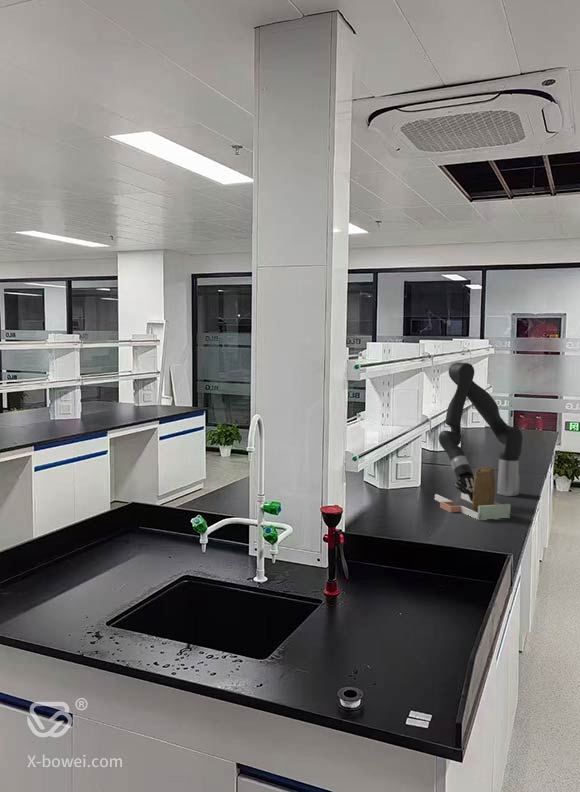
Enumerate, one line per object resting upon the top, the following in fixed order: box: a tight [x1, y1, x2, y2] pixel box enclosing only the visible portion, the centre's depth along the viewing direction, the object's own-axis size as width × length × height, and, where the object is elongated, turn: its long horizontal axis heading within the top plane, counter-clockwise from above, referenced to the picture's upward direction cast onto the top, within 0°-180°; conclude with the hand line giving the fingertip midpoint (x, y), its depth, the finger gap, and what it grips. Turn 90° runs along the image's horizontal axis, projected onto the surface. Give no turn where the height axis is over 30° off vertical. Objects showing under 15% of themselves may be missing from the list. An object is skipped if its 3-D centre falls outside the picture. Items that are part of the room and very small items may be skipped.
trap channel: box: [434, 492, 512, 521], centre depth 297 cm, size 25×36×6 cm
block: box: [472, 466, 496, 513], centre depth 289 cm, size 11×8×20 cm
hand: (474, 501), depth 293 cm, fingers closed
